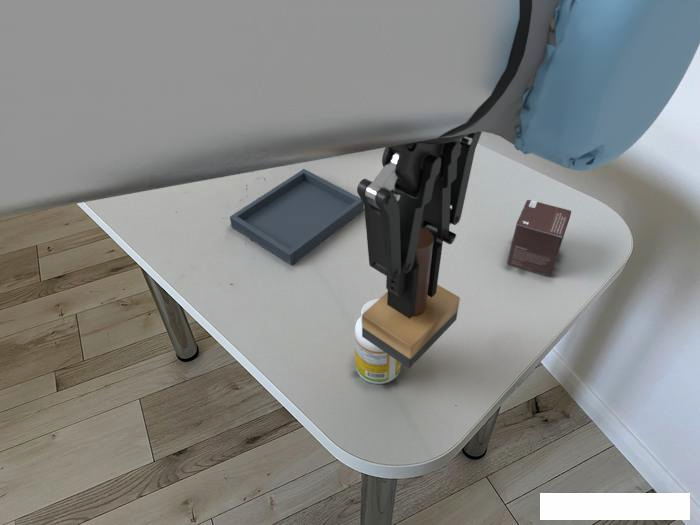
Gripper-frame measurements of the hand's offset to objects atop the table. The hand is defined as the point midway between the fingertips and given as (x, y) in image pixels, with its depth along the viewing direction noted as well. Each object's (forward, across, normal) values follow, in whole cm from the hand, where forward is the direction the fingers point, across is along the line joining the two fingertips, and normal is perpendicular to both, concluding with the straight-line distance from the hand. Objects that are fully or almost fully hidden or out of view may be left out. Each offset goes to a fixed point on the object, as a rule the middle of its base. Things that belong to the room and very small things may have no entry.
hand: (411, 298), depth 55 cm
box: (+15, -28, +1) cm, 32 cm away
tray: (+15, -13, -30) cm, 36 cm away
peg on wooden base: (+5, 0, 0) cm, 5 cm away
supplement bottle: (+15, 0, -4) cm, 15 cm away
